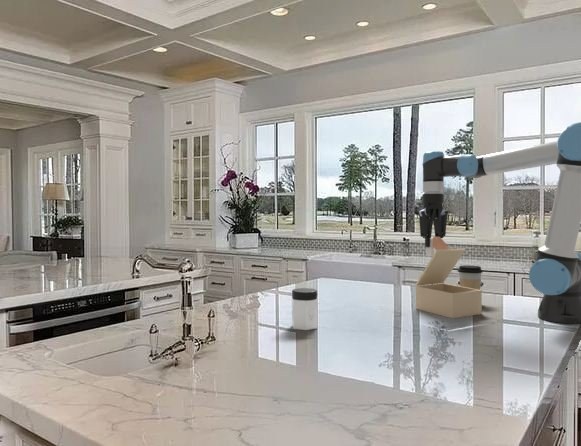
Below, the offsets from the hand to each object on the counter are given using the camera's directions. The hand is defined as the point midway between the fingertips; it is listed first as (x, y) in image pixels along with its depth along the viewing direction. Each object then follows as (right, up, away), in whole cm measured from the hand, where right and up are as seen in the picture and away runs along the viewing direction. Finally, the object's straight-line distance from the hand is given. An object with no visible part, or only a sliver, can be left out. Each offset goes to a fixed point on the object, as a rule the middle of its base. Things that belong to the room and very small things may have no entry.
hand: (433, 255), depth 184 cm
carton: (+4, -20, -6) cm, 22 cm away
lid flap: (+2, -4, -3) cm, 6 cm away
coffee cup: (+17, -20, +9) cm, 28 cm away
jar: (-49, -22, -26) cm, 60 cm away
